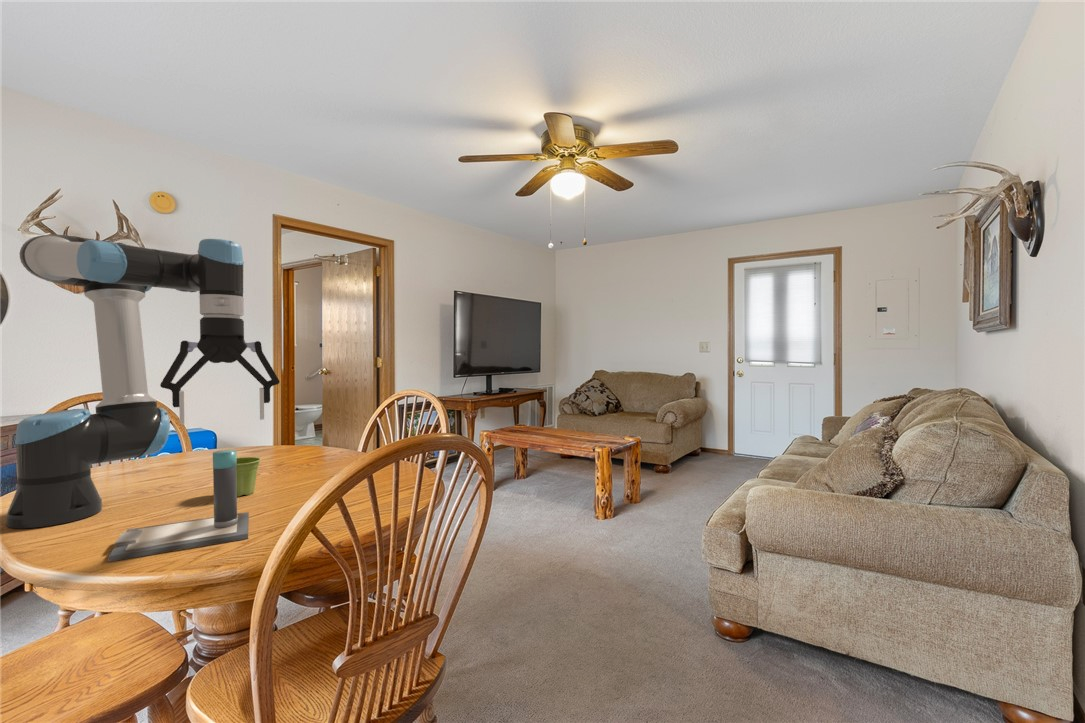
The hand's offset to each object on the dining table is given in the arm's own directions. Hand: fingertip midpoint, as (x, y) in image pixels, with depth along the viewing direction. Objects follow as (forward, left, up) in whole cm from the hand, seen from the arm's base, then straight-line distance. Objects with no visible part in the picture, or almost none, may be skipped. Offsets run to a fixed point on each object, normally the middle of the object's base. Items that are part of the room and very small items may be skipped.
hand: (223, 421), depth 101 cm
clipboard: (-6, 0, -22) cm, 23 cm away
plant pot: (+2, +29, -23) cm, 37 cm away
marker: (0, 0, -21) cm, 21 cm away
